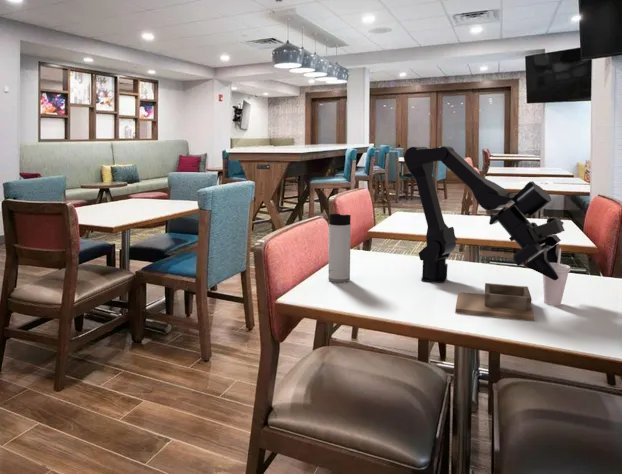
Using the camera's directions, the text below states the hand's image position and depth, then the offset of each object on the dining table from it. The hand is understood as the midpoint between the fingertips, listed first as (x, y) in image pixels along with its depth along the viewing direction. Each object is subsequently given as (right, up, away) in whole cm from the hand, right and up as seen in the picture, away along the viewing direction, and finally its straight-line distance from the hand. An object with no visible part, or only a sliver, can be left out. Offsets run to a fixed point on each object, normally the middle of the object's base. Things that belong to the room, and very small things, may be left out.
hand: (561, 276), depth 118 cm
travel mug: (-53, -3, +23) cm, 58 cm away
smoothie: (-1, -7, +2) cm, 7 cm away
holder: (-17, -7, -1) cm, 18 cm away
